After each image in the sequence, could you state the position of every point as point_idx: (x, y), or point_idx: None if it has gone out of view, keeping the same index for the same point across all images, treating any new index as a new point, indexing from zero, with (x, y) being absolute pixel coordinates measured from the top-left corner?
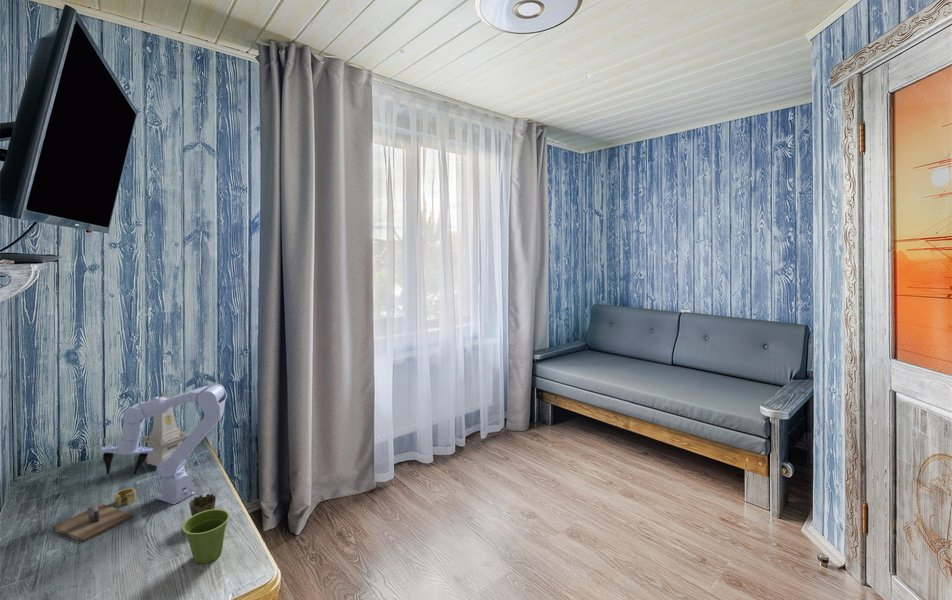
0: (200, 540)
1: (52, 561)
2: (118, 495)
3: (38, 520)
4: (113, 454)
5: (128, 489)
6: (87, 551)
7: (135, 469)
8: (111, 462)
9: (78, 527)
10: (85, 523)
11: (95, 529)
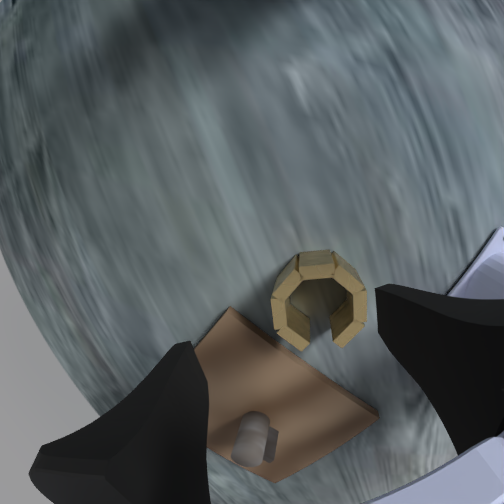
0: None
1: (242, 501)
2: (296, 337)
3: (78, 328)
4: (149, 475)
5: (325, 277)
6: (300, 497)
7: (409, 367)
8: (169, 393)
9: (228, 439)
10: (238, 428)
11: (287, 461)
